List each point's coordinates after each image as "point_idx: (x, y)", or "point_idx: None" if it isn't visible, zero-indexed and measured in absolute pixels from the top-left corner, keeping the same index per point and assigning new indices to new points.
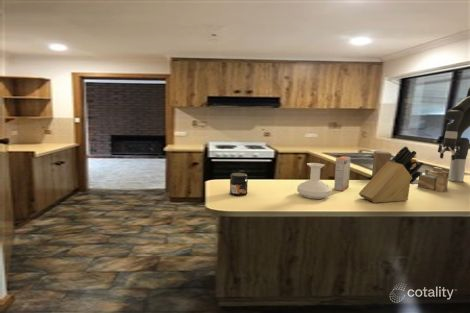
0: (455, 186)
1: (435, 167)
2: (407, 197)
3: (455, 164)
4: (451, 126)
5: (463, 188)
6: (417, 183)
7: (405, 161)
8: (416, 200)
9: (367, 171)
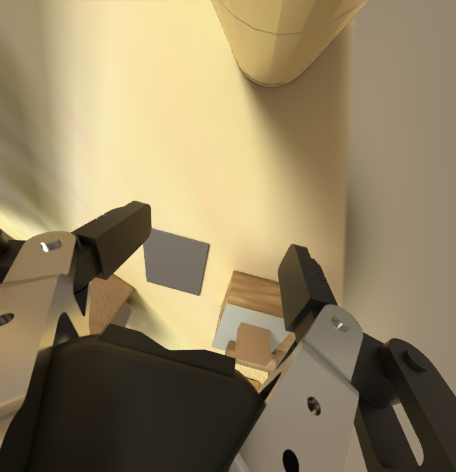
0: (305, 231)
1: (240, 355)
2: (259, 388)
3: (287, 45)
4: None
5: (336, 243)
6: (201, 282)
7: None
8: (267, 376)
9: (8, 229)
